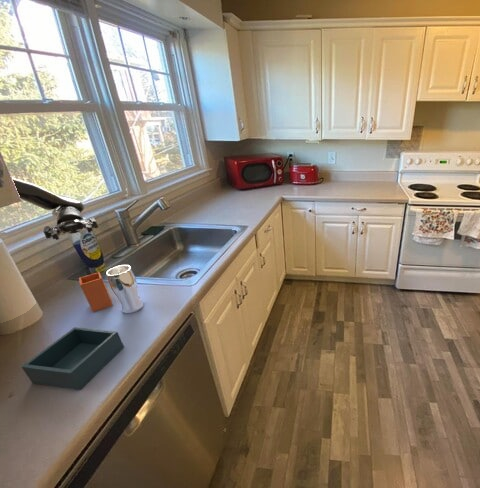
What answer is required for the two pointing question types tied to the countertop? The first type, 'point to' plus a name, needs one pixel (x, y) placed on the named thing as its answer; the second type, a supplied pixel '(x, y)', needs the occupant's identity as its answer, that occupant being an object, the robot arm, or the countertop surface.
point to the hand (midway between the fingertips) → (73, 233)
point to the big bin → (74, 358)
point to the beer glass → (125, 287)
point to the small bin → (95, 291)
